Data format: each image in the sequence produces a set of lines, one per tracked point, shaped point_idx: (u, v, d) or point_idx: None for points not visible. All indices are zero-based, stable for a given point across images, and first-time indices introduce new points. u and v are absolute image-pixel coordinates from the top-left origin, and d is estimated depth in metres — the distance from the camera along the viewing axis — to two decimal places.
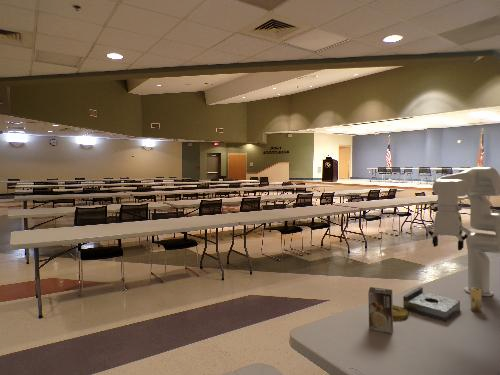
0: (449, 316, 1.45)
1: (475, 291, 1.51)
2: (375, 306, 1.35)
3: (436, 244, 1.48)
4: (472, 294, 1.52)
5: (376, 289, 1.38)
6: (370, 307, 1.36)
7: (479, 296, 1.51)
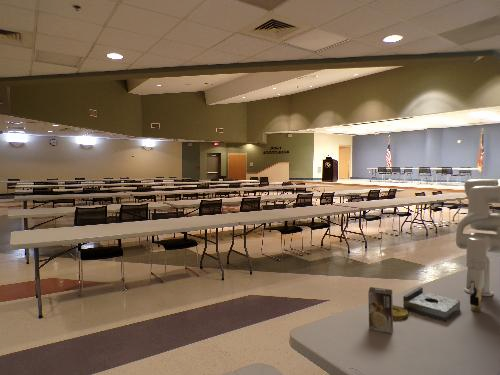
0: (449, 316, 1.45)
1: None
2: (375, 306, 1.35)
3: None
4: None
5: (376, 289, 1.38)
6: (370, 307, 1.36)
7: (479, 296, 1.51)
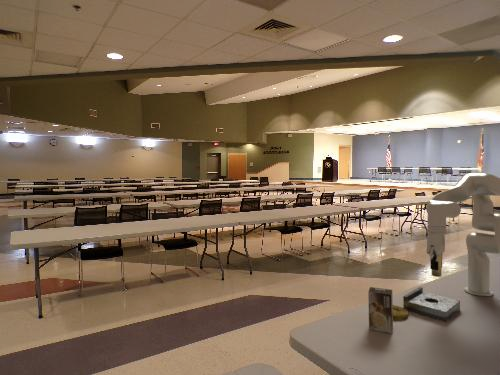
0: (449, 316, 1.45)
1: (435, 256, 1.51)
2: (375, 306, 1.35)
3: None
4: None
5: (376, 289, 1.38)
6: (370, 307, 1.36)
7: (439, 260, 1.51)
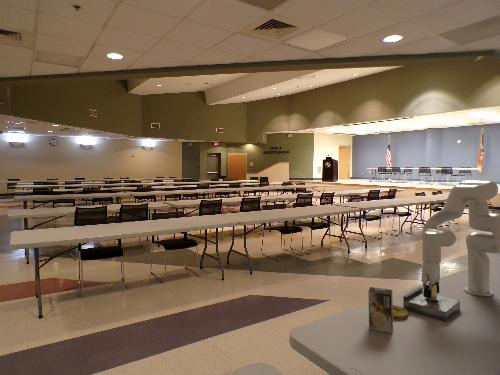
0: (449, 316, 1.45)
1: None
2: (375, 306, 1.35)
3: None
4: None
5: (376, 289, 1.38)
6: (370, 307, 1.36)
7: (434, 291, 1.52)
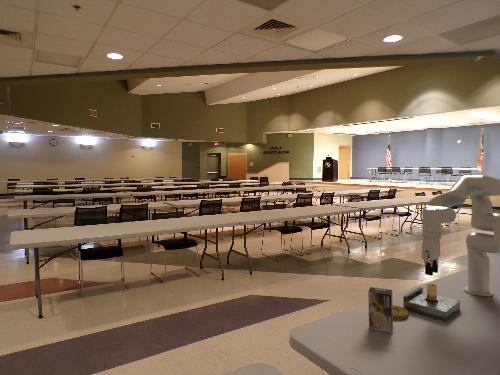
0: (449, 316, 1.45)
1: (430, 287, 1.52)
2: (375, 306, 1.35)
3: None
4: (428, 290, 1.53)
5: (376, 289, 1.38)
6: (370, 307, 1.36)
7: (434, 291, 1.52)
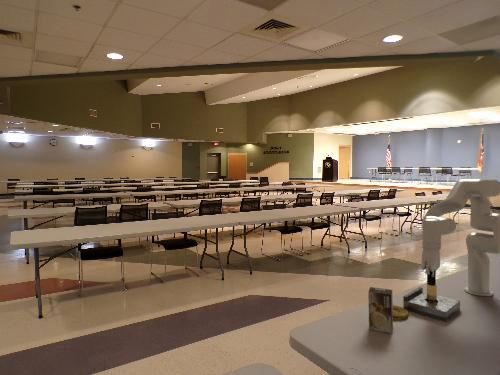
0: (449, 316, 1.45)
1: (430, 287, 1.52)
2: (375, 306, 1.35)
3: None
4: (428, 290, 1.53)
5: (376, 289, 1.38)
6: (370, 307, 1.36)
7: (434, 291, 1.52)
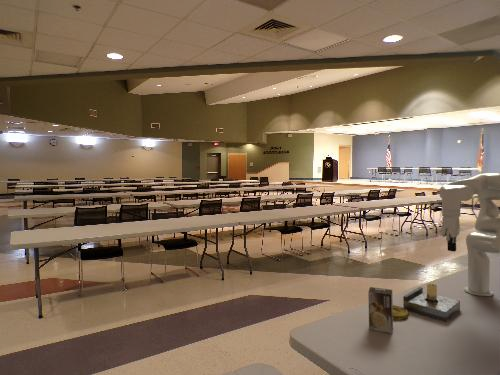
0: (449, 316, 1.45)
1: (430, 287, 1.52)
2: (375, 306, 1.35)
3: None
4: (428, 290, 1.53)
5: (376, 289, 1.38)
6: (370, 307, 1.36)
7: (434, 291, 1.52)
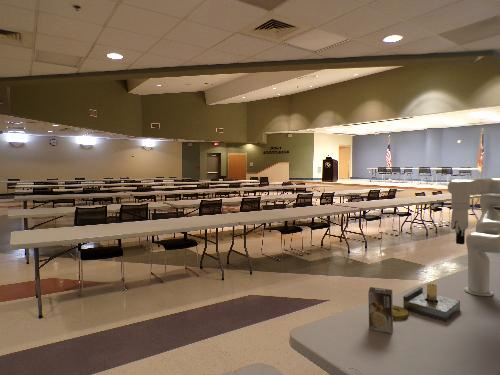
0: (449, 316, 1.45)
1: (430, 287, 1.52)
2: (375, 306, 1.35)
3: None
4: (428, 290, 1.53)
5: (376, 289, 1.38)
6: (370, 307, 1.36)
7: (434, 291, 1.52)
